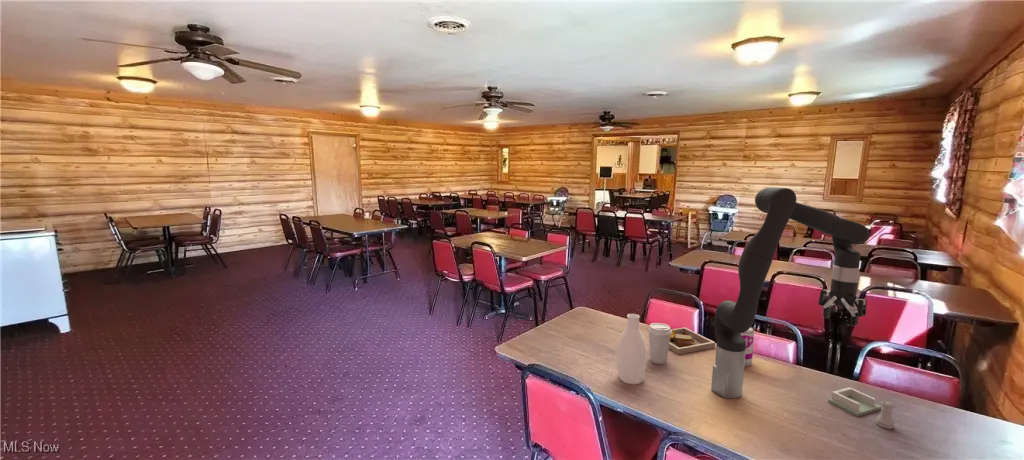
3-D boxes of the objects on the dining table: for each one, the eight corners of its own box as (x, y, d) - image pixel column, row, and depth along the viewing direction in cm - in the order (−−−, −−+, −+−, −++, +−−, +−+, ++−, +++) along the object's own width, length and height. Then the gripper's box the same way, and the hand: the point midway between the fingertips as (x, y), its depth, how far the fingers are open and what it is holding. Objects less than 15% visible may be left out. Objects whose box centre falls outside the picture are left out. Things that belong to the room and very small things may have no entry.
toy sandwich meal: (697, 340, 196) (697, 330, 195) (695, 351, 184) (695, 341, 183) (669, 335, 202) (669, 326, 201) (665, 346, 190) (665, 336, 189)
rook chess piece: (871, 421, 132) (874, 398, 131) (884, 420, 133) (887, 397, 132) (884, 430, 128) (888, 406, 127) (898, 429, 128) (901, 405, 127)
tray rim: (678, 354, 180) (679, 349, 180) (650, 337, 198) (650, 332, 198) (714, 347, 187) (715, 342, 187) (684, 332, 205) (684, 327, 204)
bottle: (651, 378, 160) (654, 315, 156) (637, 389, 152) (640, 323, 148) (624, 369, 168) (626, 308, 164) (610, 379, 160) (612, 315, 156)
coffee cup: (645, 363, 172) (647, 329, 170) (647, 353, 181) (648, 321, 179) (670, 367, 169) (672, 332, 167) (670, 357, 178) (672, 324, 175)
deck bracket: (857, 416, 135) (858, 406, 134) (828, 402, 143) (829, 392, 143) (880, 409, 139) (882, 399, 138) (851, 395, 147) (852, 386, 147)
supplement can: (754, 367, 168) (757, 332, 166) (732, 365, 170) (735, 330, 168) (747, 358, 176) (750, 324, 174) (726, 356, 178) (729, 323, 176)
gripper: (817, 274, 153) (812, 316, 156) (860, 284, 140) (855, 330, 143) (830, 273, 156) (825, 314, 159) (874, 282, 143) (868, 327, 145)
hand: (839, 322), depth 151 cm, fingers open, 8 cm apart
